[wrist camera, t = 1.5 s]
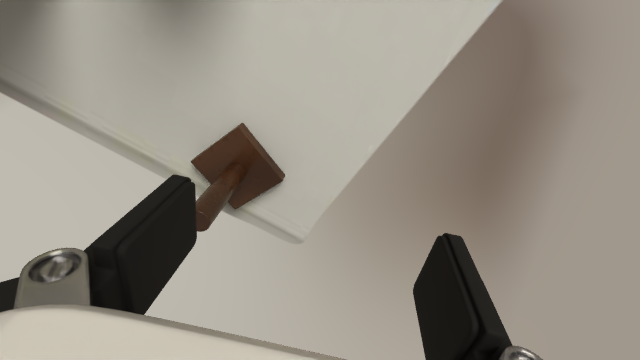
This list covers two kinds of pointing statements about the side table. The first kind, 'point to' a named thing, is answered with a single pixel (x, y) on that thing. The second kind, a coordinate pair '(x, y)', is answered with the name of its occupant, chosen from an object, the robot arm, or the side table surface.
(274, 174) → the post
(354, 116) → the side table surface
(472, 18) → the side table surface
